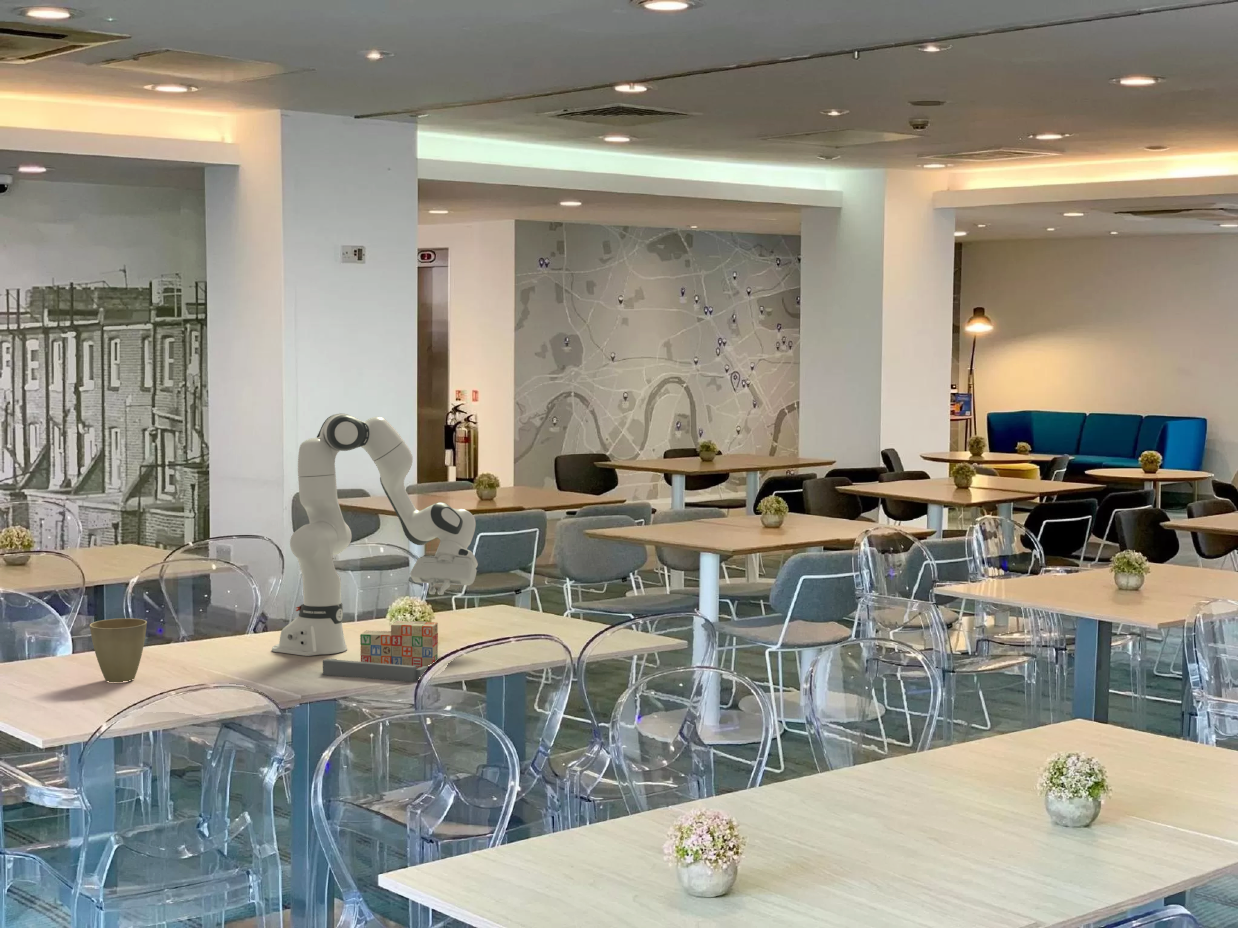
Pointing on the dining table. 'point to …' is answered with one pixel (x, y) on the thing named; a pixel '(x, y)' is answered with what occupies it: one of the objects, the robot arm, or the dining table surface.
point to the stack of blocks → (402, 644)
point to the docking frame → (372, 670)
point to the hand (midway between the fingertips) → (435, 593)
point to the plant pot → (118, 647)
